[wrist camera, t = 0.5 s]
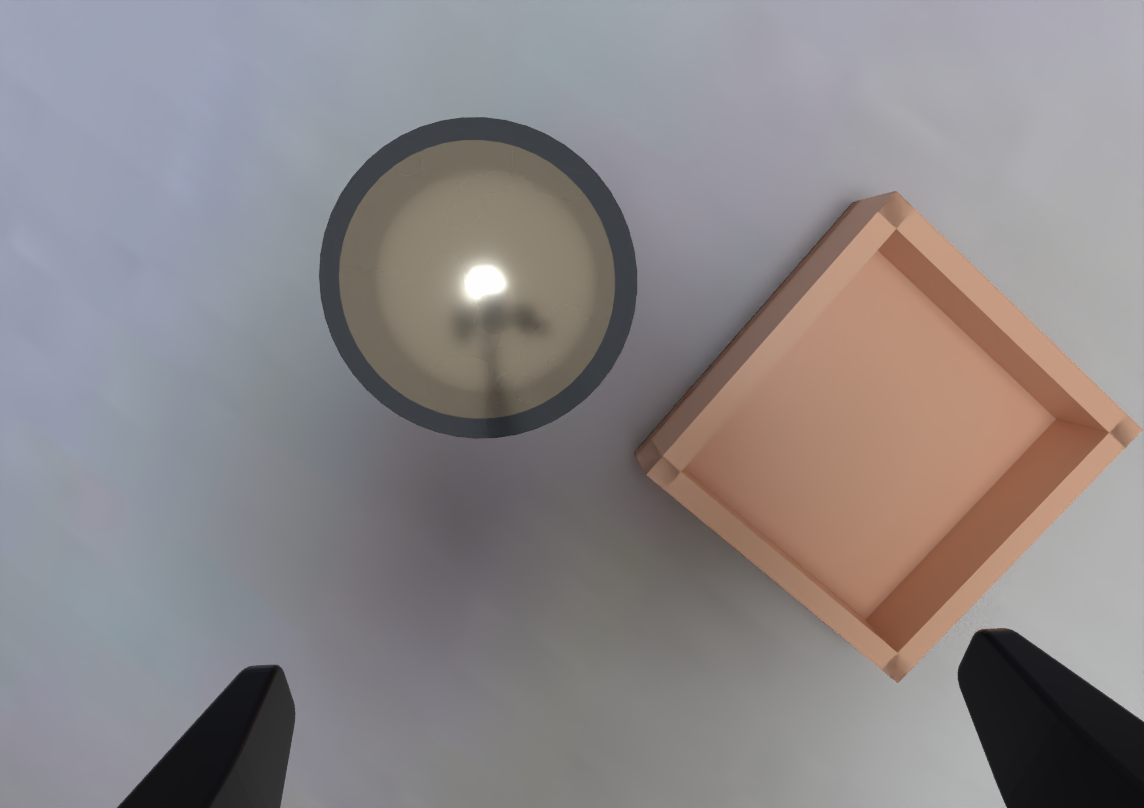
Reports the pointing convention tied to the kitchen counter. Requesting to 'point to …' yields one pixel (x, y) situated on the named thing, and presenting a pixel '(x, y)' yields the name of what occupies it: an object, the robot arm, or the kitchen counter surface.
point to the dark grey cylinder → (478, 277)
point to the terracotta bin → (886, 434)
